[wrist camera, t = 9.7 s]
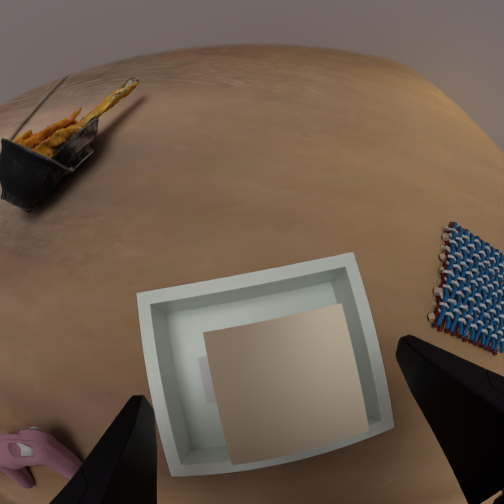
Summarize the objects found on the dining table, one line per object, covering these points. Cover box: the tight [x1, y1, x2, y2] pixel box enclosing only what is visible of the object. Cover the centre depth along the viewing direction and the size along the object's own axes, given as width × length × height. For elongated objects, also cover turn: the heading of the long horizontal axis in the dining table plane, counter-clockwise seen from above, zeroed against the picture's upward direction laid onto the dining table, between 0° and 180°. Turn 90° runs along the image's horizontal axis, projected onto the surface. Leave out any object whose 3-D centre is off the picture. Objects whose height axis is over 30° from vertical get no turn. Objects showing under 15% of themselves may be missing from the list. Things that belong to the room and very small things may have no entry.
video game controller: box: [0, 426, 82, 488], centre depth 13 cm, size 10×5×7 cm, turn 116°
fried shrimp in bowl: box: [0, 77, 139, 213], centre depth 22 cm, size 9×11×18 cm
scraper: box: [198, 303, 369, 465], centre depth 12 cm, size 8×3×13 cm, turn 102°
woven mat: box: [428, 222, 504, 355], centre depth 20 cm, size 10×11×2 cm
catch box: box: [137, 252, 394, 477], centre depth 17 cm, size 14×12×4 cm
